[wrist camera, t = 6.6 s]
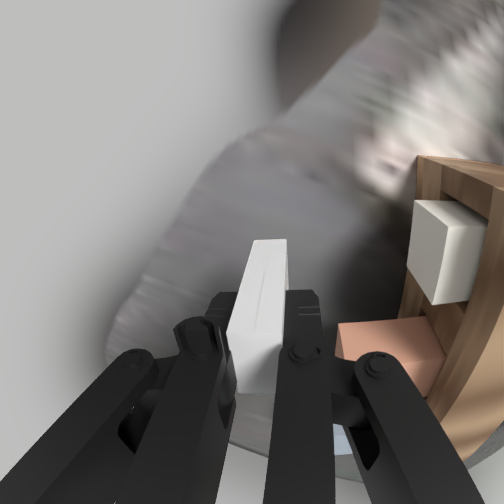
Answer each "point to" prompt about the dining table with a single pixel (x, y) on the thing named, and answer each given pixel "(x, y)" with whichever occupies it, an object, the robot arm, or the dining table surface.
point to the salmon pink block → (396, 346)
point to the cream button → (446, 249)
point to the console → (467, 308)
